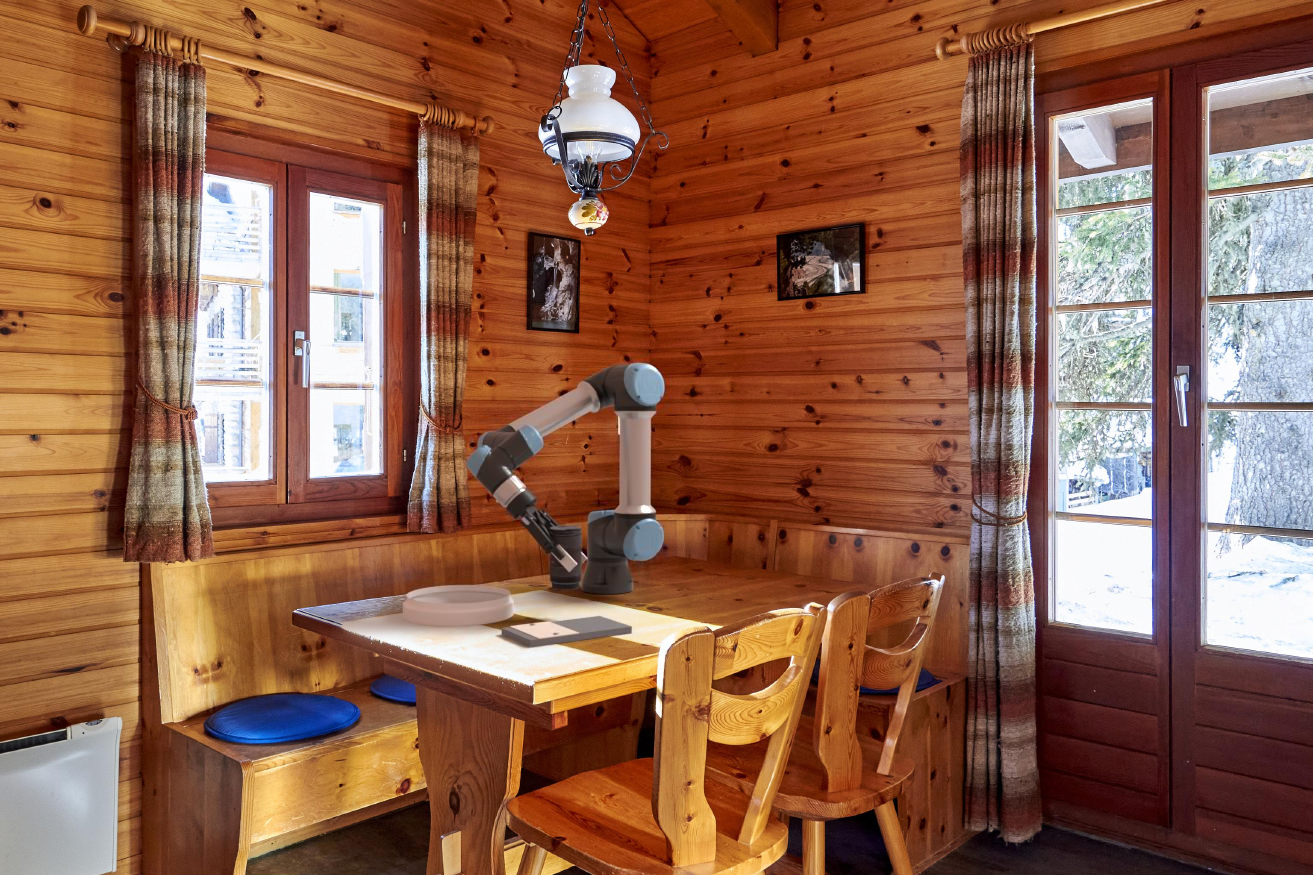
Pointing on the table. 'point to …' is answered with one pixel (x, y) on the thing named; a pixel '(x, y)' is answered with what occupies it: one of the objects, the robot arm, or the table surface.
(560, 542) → the camera lens
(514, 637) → the board
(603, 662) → the table surface
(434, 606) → the white round tray
